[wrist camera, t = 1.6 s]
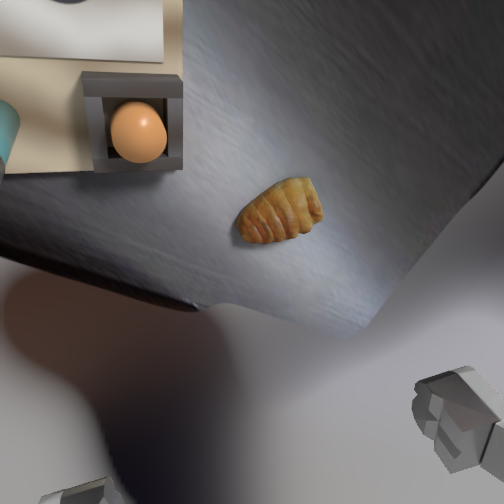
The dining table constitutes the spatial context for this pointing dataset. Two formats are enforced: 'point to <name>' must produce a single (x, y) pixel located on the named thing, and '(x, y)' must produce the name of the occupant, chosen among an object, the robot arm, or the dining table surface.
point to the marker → (7, 133)
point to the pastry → (281, 212)
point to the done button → (137, 131)
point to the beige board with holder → (89, 79)
